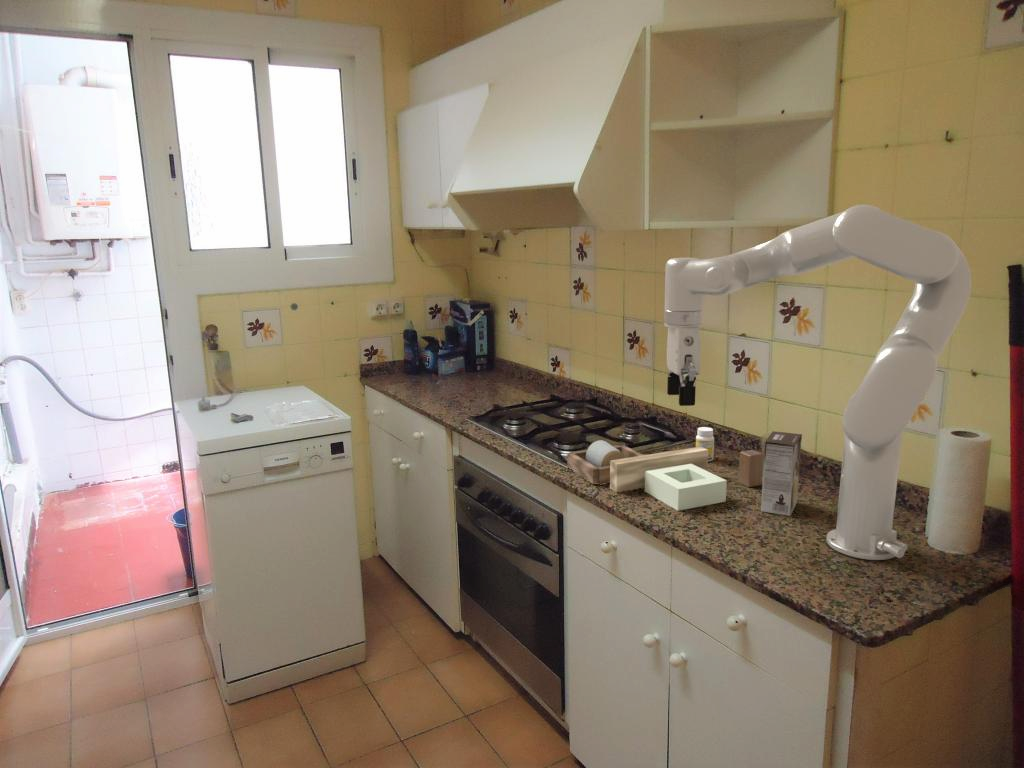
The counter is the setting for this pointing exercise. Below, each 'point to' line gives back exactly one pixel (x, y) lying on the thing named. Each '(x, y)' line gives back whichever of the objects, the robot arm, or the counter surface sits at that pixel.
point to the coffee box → (781, 473)
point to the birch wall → (652, 466)
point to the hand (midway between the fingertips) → (680, 399)
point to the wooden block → (750, 468)
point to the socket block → (685, 486)
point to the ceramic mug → (602, 454)
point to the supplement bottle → (706, 440)
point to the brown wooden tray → (591, 472)
